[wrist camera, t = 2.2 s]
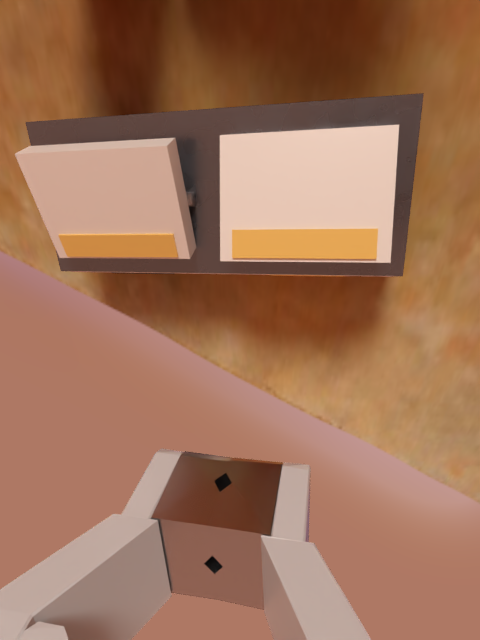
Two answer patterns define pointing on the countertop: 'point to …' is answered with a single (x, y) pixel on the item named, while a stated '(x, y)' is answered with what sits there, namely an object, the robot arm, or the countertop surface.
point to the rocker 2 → (308, 195)
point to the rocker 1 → (111, 198)
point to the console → (204, 173)
